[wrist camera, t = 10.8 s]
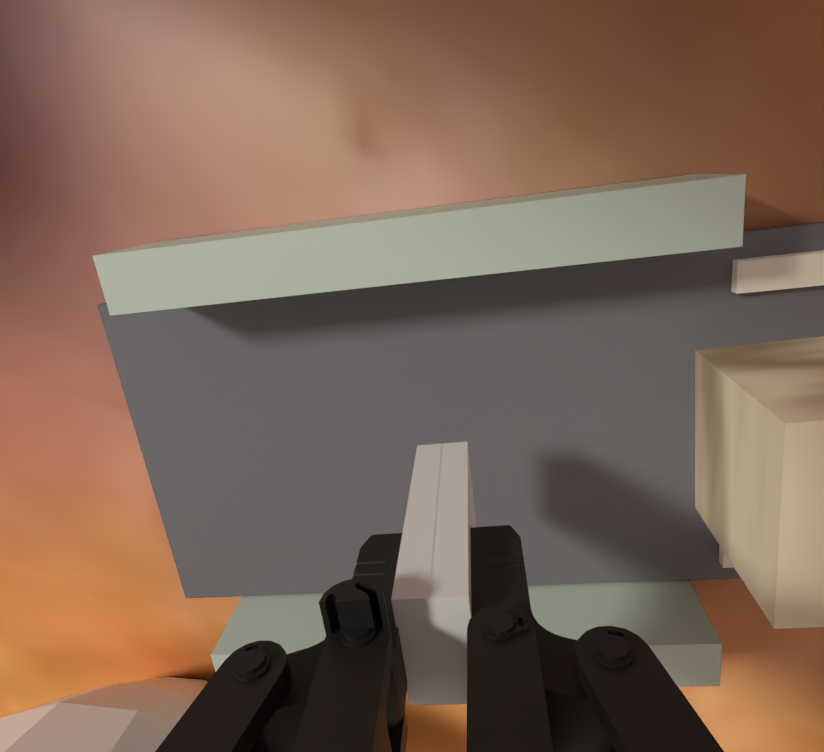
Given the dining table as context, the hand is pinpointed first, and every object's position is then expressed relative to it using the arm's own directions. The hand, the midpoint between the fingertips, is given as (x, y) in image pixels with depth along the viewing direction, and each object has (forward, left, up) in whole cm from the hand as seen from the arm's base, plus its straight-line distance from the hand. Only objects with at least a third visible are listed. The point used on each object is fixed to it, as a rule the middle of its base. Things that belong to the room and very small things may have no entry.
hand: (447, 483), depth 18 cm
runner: (+3, -1, -4) cm, 5 cm away
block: (+11, -1, -4) cm, 12 cm away
